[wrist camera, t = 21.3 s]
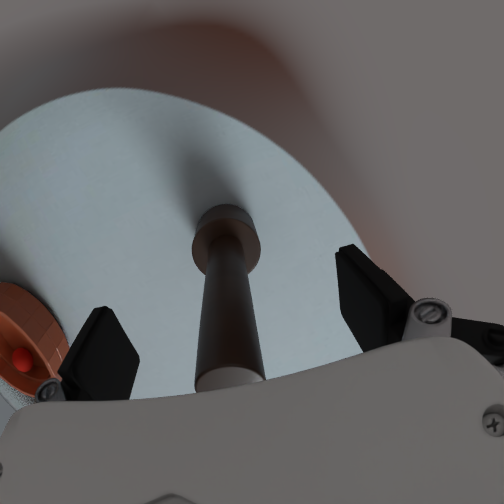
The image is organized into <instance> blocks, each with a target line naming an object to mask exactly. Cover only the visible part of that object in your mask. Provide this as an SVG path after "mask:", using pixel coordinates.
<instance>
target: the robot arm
mask: <svg viewBox="0 0 504 504" xmlns="http://www.w3.org/2000/svg"><path fill="white" fill-rule="evenodd" d="M335 259H336V268H337V277H338V288H339V300H340V310H341V314H342V316H343V318H344V320H345V322H346V323H347V325H348V327H349V328H350V330H351V332H352V333H353V335H354V337H355V339H356V340H357V342H358V344H359V346H360V347H361V349H362V351H363V353H361V354H358V355H355V356H351V357H348V358H345V359H341V360H338V361H335V362H332V363H329V364H325V365H322V366H318V367H315V368H311V369H308V370H304V371H301V372H297V373H293V374H289V375H285V376H281V377H277V378H273V379H268V380H264V381H259V382H255V383H250V384H245V385H240V386H235V387H230V388H224V389H218V390H212V391H206V392H200V393H193V394H185V395H177V396H168V397H158V398H147V399H133V400H129V398H130V395H131V391H132V387H133V384H134V380H135V377H136V373H137V370H138V366H139V363H140V358H139V355H138V353H137V352H136V350H135V348H134V347H133V345H132V343H131V342H130V340H129V338H128V337H127V335H126V333H125V332H124V330H123V328H122V326H121V325H120V323H119V321H118V319H117V317H116V316H115V314H114V312H113V310H112V309H110V308H108V307H107V306H103V307H98V308H94V309H93V311H92V312H91V314H90V315H89V317H88V319H87V320H86V322H85V324H84V325H83V327H82V329H81V330H80V332H79V334H78V335H77V337H76V339H75V340H74V342H73V344H72V346H71V347H70V349H69V351H68V353H67V354H66V356H65V358H64V360H63V362H62V364H61V365H60V367H59V369H58V371H57V373H58V374H59V375H60V377H61V378H62V381H61V382H60V381H59V380H58V379H57V378H50V379H48V380H46V381H44V382H43V383H42V384H41V385H40V386H39V387H38V388H37V390H36V392H35V404H31V405H28V406H25V407H23V408H21V409H19V410H18V411H16V412H15V413H14V414H13V415H12V416H11V418H10V419H9V421H8V423H7V425H6V427H5V429H4V431H3V433H2V435H1V437H0V504H504V326H503V325H499V324H494V323H487V322H481V321H474V320H467V319H460V318H454V317H452V312H451V308H450V307H449V305H448V304H446V303H445V302H444V301H441V300H439V299H436V298H423V299H420V300H418V301H416V302H415V301H414V300H413V299H412V298H411V297H410V296H409V295H408V294H407V293H406V292H405V291H404V290H403V289H402V288H401V287H400V286H399V285H398V284H397V283H396V282H395V281H394V280H393V279H392V278H391V277H390V276H389V275H388V274H387V273H386V272H385V271H384V270H381V269H380V268H379V267H378V266H376V265H375V264H374V263H373V262H372V261H371V260H370V259H369V258H368V257H367V256H366V255H365V254H364V253H363V252H362V251H361V250H360V249H359V248H357V247H356V246H355V245H354V244H351V245H347V246H344V247H340V248H339V252H336V253H335Z"/></svg>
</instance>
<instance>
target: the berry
mask: <svg viewBox="0 0 504 504" xmlns="http://www.w3.org/2000/svg"><path fill="white" fill-rule="evenodd" d="M12 361H13V364H14V366H15V367H16V368H17V369H18V370H19V371H21V372H28V371H30V370H31V368H32V367H33V357H32V355H31V353H30V352H29V351H28V350H27V349H25V348H17V349H16V350H15V351H14V352H13V355H12Z"/></svg>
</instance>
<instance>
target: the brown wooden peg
mask: <svg viewBox="0 0 504 504" xmlns="http://www.w3.org/2000/svg"><path fill="white" fill-rule="evenodd" d="M260 252H261V247H260V241H259V238H258V235H257V232H256V229H255V226H254V223H253V221H252V219H251V217H250V216H249V214H248V213H247V212H246V211H245V210H243V209H242V208H240V207H238V206H236V205H232V204H220V205H217V206H214V207H212V208H210V209H209V210H207V211H206V212H205V213H204V214H203V216H202V217H201V219H200V221H199V223H198V227H197V230H196V233H195V236H194V240H193V244H192V256H193V259H194V262H195V264H196V266H197V267H198V269H199V270H200V271H201V272H202V273H203V274H204V275H206V276H205V284H204V293H203V301H202V310H201V319H200V329H199V339H198V349H197V360H196V372H195V384H194V387H195V391H196V393H200V392H206V391H212V390H218V389H224V388H230V387H235V386H240V385H245V384H250V383H255V382H259V381H264V380H266V377H265V372H264V366H263V360H262V355H261V349H260V343H259V337H258V332H257V326H256V320H255V314H254V309H253V303H252V297H251V291H250V285H249V279H248V274H249V273H250V272H251V271H252V270H253V269H254V268H255V266H256V265H257V263H258V261H259V258H260Z"/></svg>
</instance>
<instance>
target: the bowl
mask: <svg viewBox="0 0 504 504" xmlns="http://www.w3.org/2000/svg"><path fill="white" fill-rule="evenodd" d="M17 348H25V349H27V350H28V351H29V352H30V353H31V355H32V357H33V367H32V368H31V370H30V371H28V372H21V371H19V370H18V369H17V368H16V367H15V366H14V364H13V361H12V355H13V352H14V351H15V350H16V349H17ZM69 349H70V348H69V346H68V343H67V340H66V337H65V335H64V333H63V331H62V330H61V328H60V326H59V324H58V323H57V321H56V320H55V318H54V317H53V316H52V314H51V313H50V312H49V311H48V309H47V308H46V307H45V306H44V305H43V304H42V303H41V302H40V301H39V300H38V299H37V298H36V297H34V296H33V295H32V294H30V293H29V292H28V291H26V290H24V289H23V288H21V287H19V286H17V285H15V284H12V283H6V282H1V283H0V378H2V379H3V380H4V381H5V382H6V383H8V384H9V385H10V386H11V387H13V388H15V389H16V390H18V391H20V392H21V393H23V394H25V395H28V396H30V397H33V398H35V392H36V390H37V388H38V387H39V386H40V385H41V384H42V383H43V382H44V381H46V380H48V379H50V378H57V379H58V380H59V381H60V382H61V381H62V378H61V377H60V375H59V374H58V373H57V371H58V369H59V367H60V365H61V364H62V362H63V360H64V358H65V356H66V354H67V353H68V351H69Z"/></svg>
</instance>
